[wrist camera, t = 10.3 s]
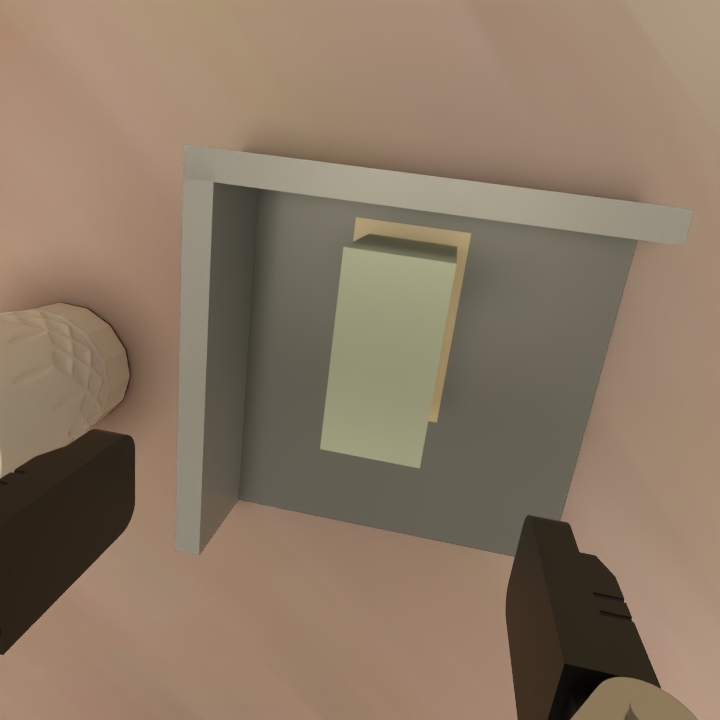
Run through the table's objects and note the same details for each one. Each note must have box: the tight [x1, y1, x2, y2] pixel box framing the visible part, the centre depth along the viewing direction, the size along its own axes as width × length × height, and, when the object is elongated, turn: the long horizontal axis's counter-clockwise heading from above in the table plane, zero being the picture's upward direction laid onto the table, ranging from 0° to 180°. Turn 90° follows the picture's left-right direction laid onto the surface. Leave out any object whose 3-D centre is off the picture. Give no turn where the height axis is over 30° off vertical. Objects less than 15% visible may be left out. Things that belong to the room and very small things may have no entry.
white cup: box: [0, 303, 130, 478], centre depth 26 cm, size 8×8×10 cm
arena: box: [175, 144, 695, 557], centre depth 25 cm, size 18×18×6 cm
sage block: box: [320, 234, 457, 468], centre depth 24 cm, size 4×8×6 cm, turn 173°
